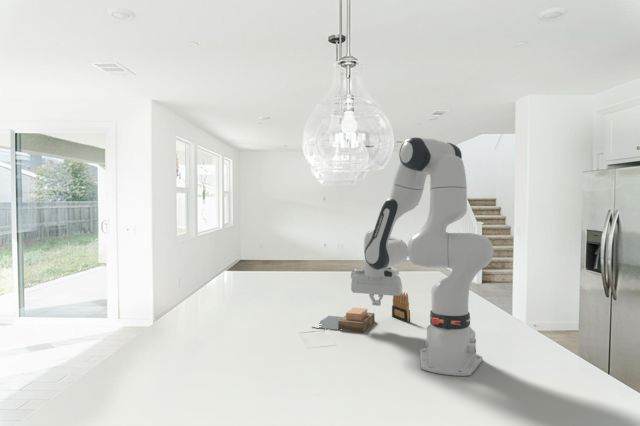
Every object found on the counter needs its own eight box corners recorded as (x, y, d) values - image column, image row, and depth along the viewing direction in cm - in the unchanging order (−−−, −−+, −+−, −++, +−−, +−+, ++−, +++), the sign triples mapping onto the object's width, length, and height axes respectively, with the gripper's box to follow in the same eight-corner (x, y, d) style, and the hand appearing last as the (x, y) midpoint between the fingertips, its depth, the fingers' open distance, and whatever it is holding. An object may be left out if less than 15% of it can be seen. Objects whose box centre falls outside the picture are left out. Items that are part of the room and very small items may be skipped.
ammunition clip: (410, 322, 171) (410, 293, 170) (406, 322, 170) (406, 293, 170) (395, 316, 180) (395, 288, 180) (391, 316, 180) (391, 289, 179)
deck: (362, 332, 158) (362, 323, 158) (338, 329, 162) (338, 320, 162) (374, 321, 172) (374, 313, 172) (351, 319, 176) (351, 311, 176)
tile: (360, 320, 162) (360, 314, 162) (346, 319, 164) (346, 312, 164) (367, 314, 170) (367, 308, 170) (353, 313, 172) (353, 307, 172)
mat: (337, 330, 161) (337, 329, 161) (311, 327, 165) (311, 326, 165) (352, 318, 177) (352, 317, 177) (328, 316, 182) (328, 315, 182)
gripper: (348, 270, 166) (349, 304, 166) (398, 273, 157) (399, 309, 158) (353, 267, 171) (354, 301, 172) (402, 270, 163) (403, 305, 163)
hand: (376, 305), depth 165 cm, fingers closed
